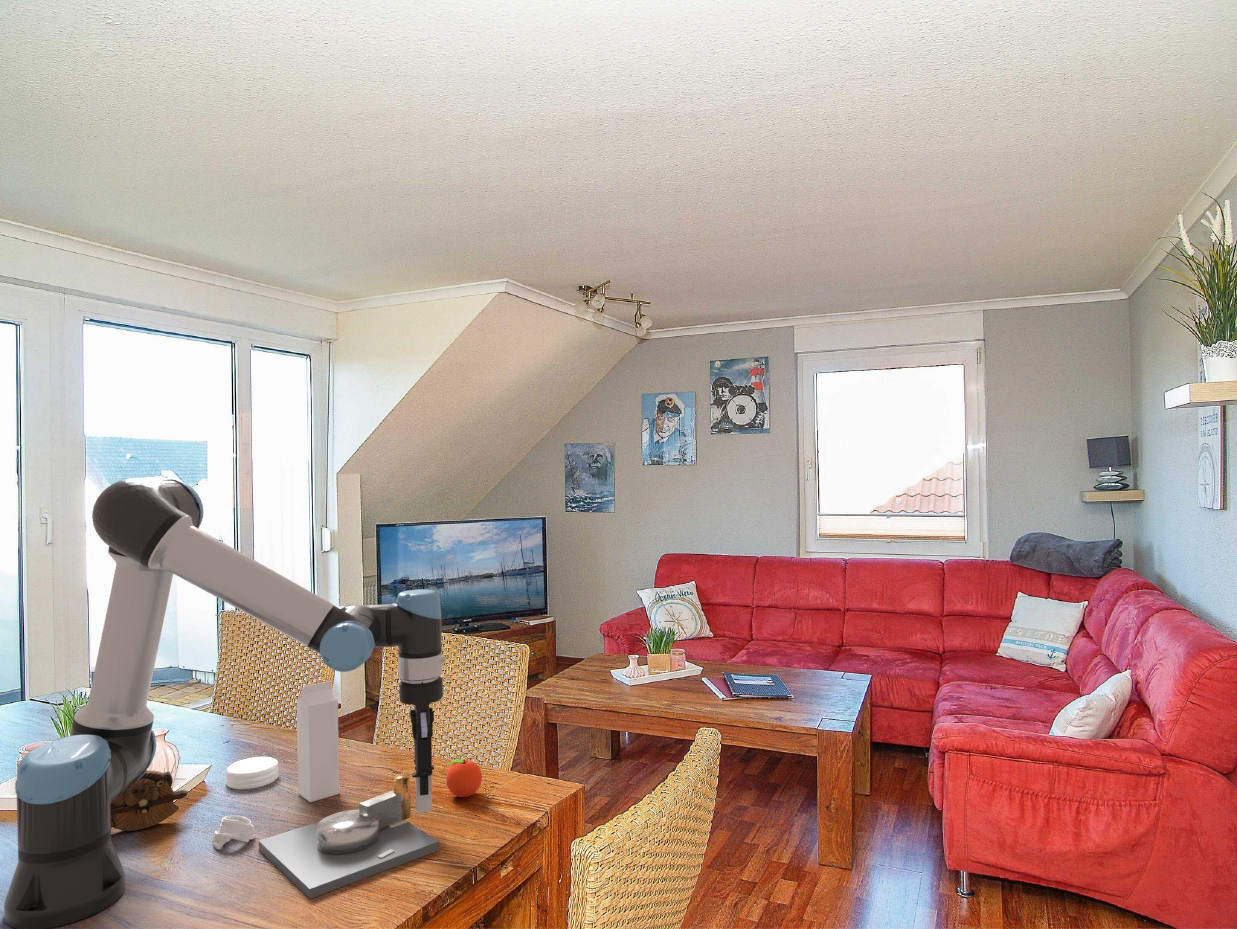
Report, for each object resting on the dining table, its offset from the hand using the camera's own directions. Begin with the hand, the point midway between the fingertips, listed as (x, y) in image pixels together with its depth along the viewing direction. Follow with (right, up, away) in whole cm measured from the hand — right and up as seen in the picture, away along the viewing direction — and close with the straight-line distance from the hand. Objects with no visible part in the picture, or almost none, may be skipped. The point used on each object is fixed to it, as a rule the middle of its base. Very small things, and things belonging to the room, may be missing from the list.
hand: (424, 810), depth 145 cm
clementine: (+4, -4, +15) cm, 16 cm away
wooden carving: (-53, -5, +3) cm, 53 cm away
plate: (-11, -4, -7) cm, 14 cm away
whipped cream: (-33, -5, -2) cm, 33 cm away
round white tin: (-42, -5, +25) cm, 49 cm away
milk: (-25, -4, +17) cm, 31 cm away
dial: (-9, -2, -4) cm, 10 cm away
